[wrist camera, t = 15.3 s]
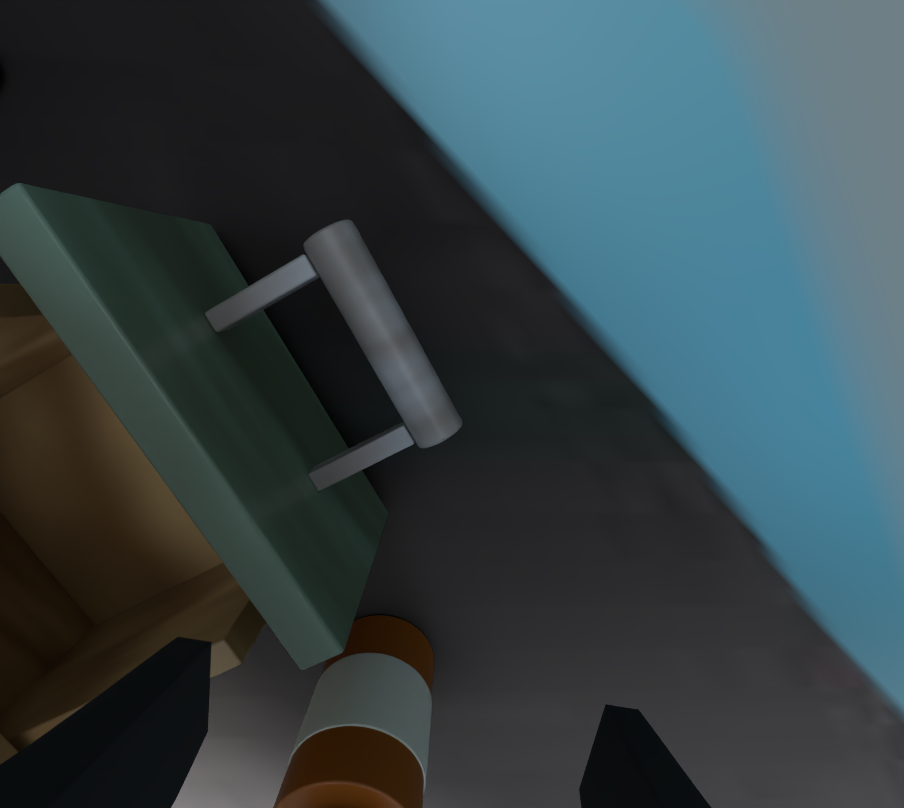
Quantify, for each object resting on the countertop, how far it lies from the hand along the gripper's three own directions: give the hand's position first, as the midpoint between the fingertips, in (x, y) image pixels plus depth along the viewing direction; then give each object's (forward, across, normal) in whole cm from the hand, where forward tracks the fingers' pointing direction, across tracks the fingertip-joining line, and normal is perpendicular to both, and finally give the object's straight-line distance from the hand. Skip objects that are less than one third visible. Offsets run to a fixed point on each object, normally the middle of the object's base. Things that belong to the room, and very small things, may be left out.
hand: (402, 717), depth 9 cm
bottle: (+10, +1, +8) cm, 13 cm away
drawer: (+9, +8, -1) cm, 12 cm away
